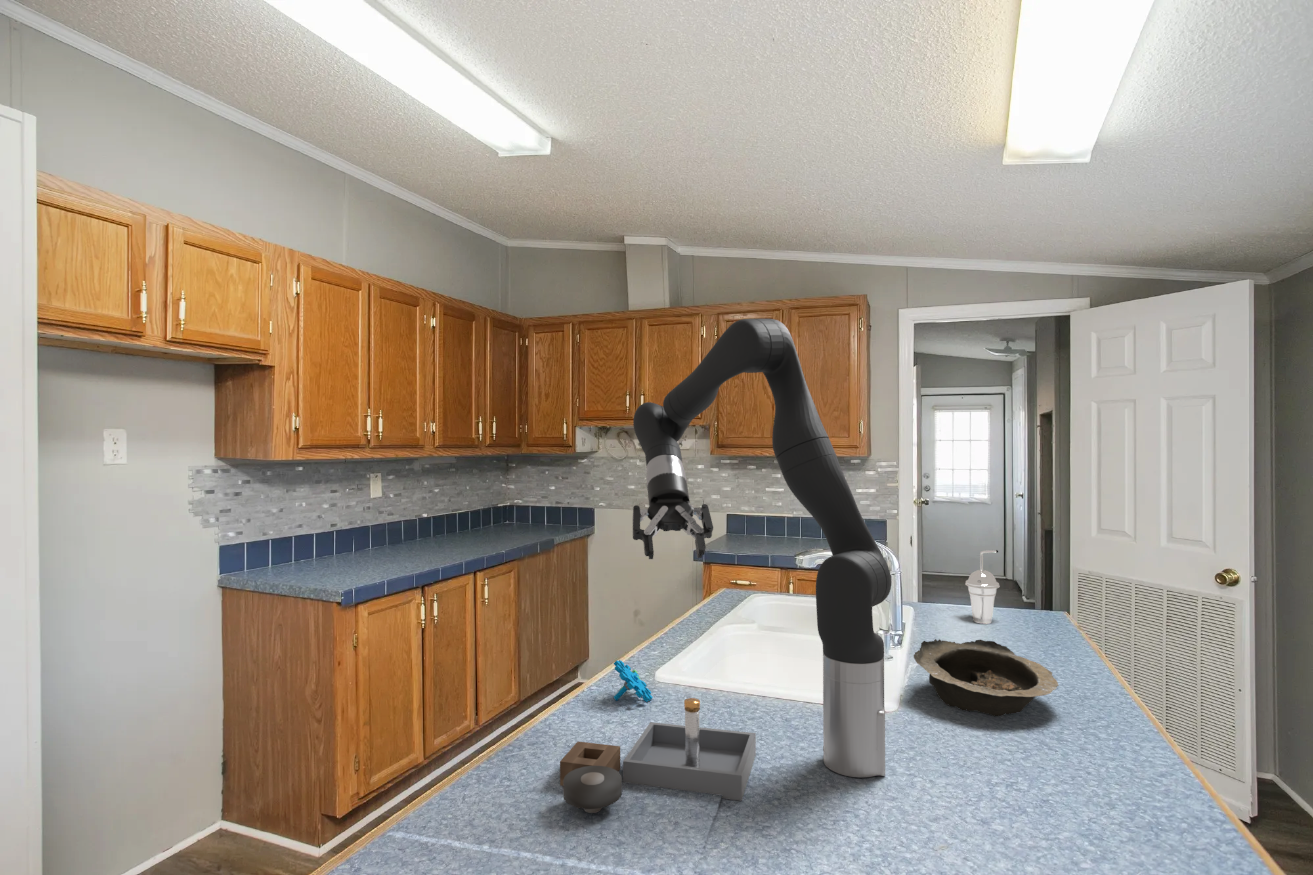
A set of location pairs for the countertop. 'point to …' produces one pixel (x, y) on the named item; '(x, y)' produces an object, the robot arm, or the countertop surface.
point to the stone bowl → (983, 676)
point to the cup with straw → (982, 592)
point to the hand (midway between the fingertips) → (676, 556)
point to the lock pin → (692, 732)
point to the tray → (719, 770)
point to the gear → (631, 682)
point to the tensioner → (591, 776)
